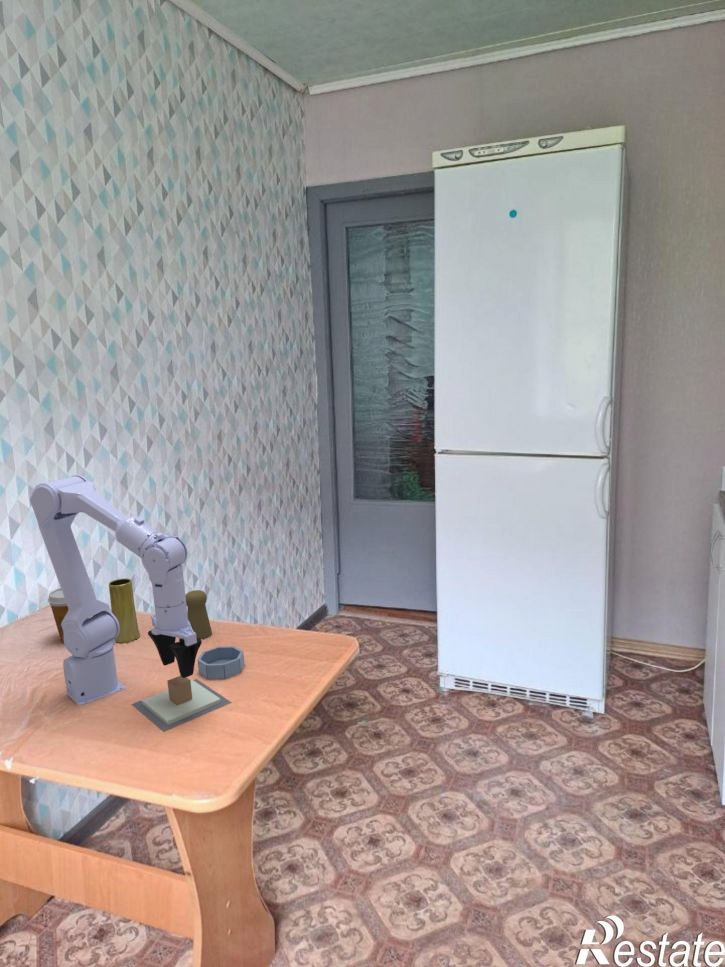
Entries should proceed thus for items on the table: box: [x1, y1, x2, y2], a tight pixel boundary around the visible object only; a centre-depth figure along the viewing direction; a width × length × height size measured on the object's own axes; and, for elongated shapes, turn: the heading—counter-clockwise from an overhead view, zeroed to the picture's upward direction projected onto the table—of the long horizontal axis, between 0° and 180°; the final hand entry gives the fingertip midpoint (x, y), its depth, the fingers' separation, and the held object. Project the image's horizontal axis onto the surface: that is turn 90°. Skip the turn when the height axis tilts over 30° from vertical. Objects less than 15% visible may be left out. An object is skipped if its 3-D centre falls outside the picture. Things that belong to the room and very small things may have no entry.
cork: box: [185, 589, 213, 640], centre depth 163 cm, size 6×6×11 cm
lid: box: [141, 675, 221, 725], centre depth 130 cm, size 11×11×5 cm
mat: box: [131, 678, 232, 733], centre depth 131 cm, size 14×14×1 cm
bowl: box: [196, 645, 246, 680], centre depth 144 cm, size 9×9×4 cm
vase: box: [108, 578, 141, 644], centre depth 163 cm, size 6×6×14 cm
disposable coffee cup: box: [47, 587, 90, 643], centre depth 165 cm, size 10×10×12 cm
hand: (177, 669), depth 129 cm, fingers open, 7 cm apart
